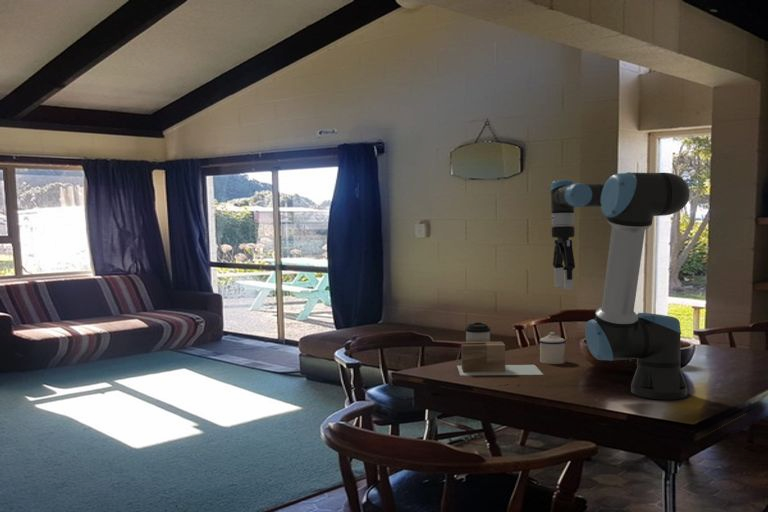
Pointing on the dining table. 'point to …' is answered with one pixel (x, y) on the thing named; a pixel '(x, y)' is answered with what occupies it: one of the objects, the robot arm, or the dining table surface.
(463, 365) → the slotted block
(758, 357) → the dining table surface
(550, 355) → the teacup with lid
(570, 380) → the dining table surface
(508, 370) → the board
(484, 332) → the coffee cup
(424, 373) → the dining table surface
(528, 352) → the dining table surface
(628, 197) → the robot arm
